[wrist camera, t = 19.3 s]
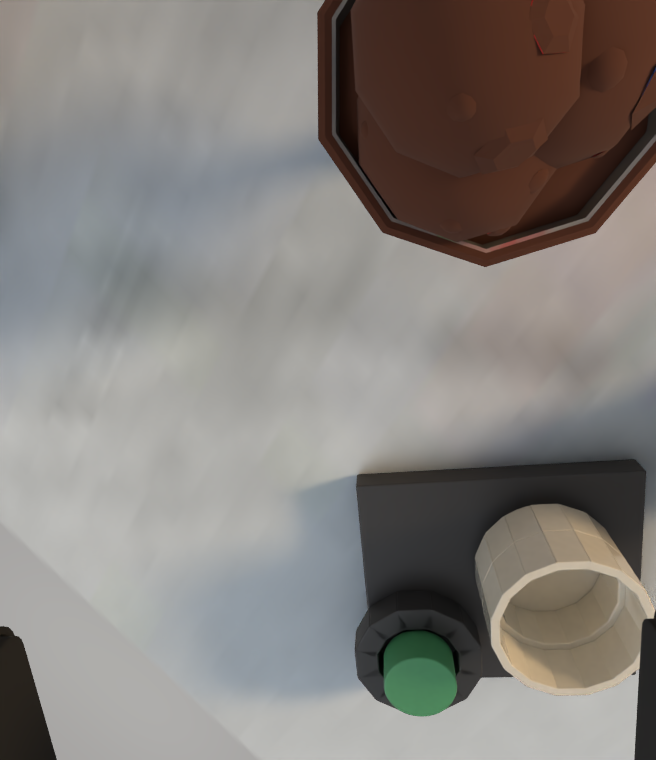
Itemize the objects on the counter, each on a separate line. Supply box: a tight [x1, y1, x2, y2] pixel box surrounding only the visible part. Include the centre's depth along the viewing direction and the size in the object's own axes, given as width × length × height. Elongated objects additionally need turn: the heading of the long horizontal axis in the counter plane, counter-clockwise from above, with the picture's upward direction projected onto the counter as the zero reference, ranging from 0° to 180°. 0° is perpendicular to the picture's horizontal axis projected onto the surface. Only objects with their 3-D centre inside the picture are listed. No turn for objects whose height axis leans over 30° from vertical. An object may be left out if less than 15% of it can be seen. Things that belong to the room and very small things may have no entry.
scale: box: [355, 460, 646, 709], centre depth 32 cm, size 15×13×3 cm
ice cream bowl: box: [317, 0, 656, 267], centre depth 20 cm, size 11×11×15 cm
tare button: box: [384, 630, 457, 716], centre depth 32 cm, size 4×4×2 cm
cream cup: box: [475, 504, 655, 696], centre depth 29 cm, size 7×7×6 cm
